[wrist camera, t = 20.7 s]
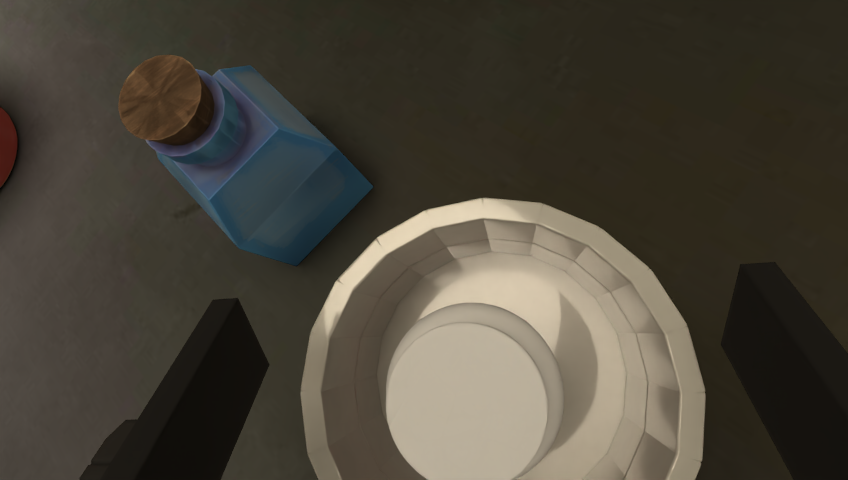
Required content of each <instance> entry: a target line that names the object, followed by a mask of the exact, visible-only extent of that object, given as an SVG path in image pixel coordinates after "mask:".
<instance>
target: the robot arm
mask: <svg viewBox="0 0 848 480" xmlns="http://www.w3.org/2000/svg"><path fill="white" fill-rule="evenodd" d="M721 346H722V347H723V349H724V351H725V353H726V355H727V357H728V359H729V360H730V362H731V364H732V366H733V368H734V370H735V372H736V373H737V375H738V377H739V379H740V381H741V383H742V385H743V386H744V388H745V390H746V392H747V394H748V396H749V398H750V399H751V401H752V403H753V405H754V407H755V409H756V411H757V412H758V414H759V416H760V418H761V420H762V422H763V424H764V425H765V427H766V429H767V431H768V433H769V435H770V437H771V438H772V440H773V442H774V444H775V446H776V448H777V450H778V451H779V453H780V455H781V457H782V459H783V461H784V463H785V464H786V466H787V468H788V470H789V472H790V474H791V476H792V477H793V479H794V480H848V353H847V352H846V351H845V349H844V348H843V347H842V346H841V344H840V343H839V342H838V341H837V339H836V338H835V337H834V336H833V334H832V333H831V332H830V331H829V329H828V328H827V327H826V326H825V324H824V323H823V322H822V321H821V319H820V318H819V317H818V316H817V314H816V313H815V312H814V311H813V309H812V308H811V307H810V306H809V304H808V303H807V302H806V300H805V299H804V298H803V297H802V295H801V294H800V293H799V292H798V290H797V289H796V288H795V287H794V285H793V284H792V283H791V282H790V280H789V279H788V278H787V277H786V275H785V274H784V273H783V272H782V270H781V269H780V268H779V267H778V265H777V264H776V263H775V262H770V263H755V264H740V268H739V273H738V277H737V281H736V285H735V289H734V293H733V297H732V301H731V305H730V309H729V313H728V317H727V321H726V325H725V329H724V333H723V337H722V342H721ZM268 367H269V363H268V361H267V359H266V357H265V354H264V352H263V350H262V348H261V346H260V344H259V342H258V340H257V337H256V335H255V333H254V331H253V329H252V327H251V325H250V323H249V321H248V318H247V316H246V314H245V312H244V310H243V308H242V306H241V304H240V302H239V299H238V298H234V299H219V300H213V301H212V302H211V304H210V305H209V307H208V308H207V310H206V312H205V313H204V315H203V316H202V318H201V320H200V321H199V323H198V324H197V326H196V328H195V329H194V331H193V332H192V334H191V336H190V337H189V339H188V340H187V342H186V343H185V345H184V347H183V348H182V350H181V351H180V353H179V355H178V356H177V358H176V359H175V361H174V363H173V364H172V366H171V367H170V369H169V370H168V372H167V374H166V375H165V377H164V378H163V380H162V382H161V383H160V385H159V386H158V388H157V390H156V391H155V393H154V394H153V396H152V398H151V399H150V401H149V402H148V404H147V405H146V407H145V409H144V410H143V412H142V413H141V415H140V417H139V418H138V420H125V421H124V422H123V423H122V424H121V425H120V426H119V427H118V428H117V429H116V430H115V431H114V432H113V433H112V434H110V435H109V436H108V437H107V438H106V439H105V441H104V442H103V444H102V445H101V447H100V448H99V450H98V451H97V453H96V454H95V456H94V457H93V459H92V460H91V465H88V466H87V468H86V469H85V471H84V472H83V474H82V475H81V477H80V478H79V479H80V480H220V479H221V477H222V475H223V472H224V470H225V468H226V465H227V463H228V461H229V458H230V456H231V454H232V451H233V449H234V447H235V444H236V442H237V439H238V437H239V435H240V432H241V430H242V428H243V425H244V423H245V421H246V418H247V416H248V414H249V411H250V409H251V407H252V404H253V402H254V400H255V397H256V395H257V393H258V390H259V388H260V386H261V383H262V381H263V378H264V376H265V374H266V371H267V369H268Z"/></svg>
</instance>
